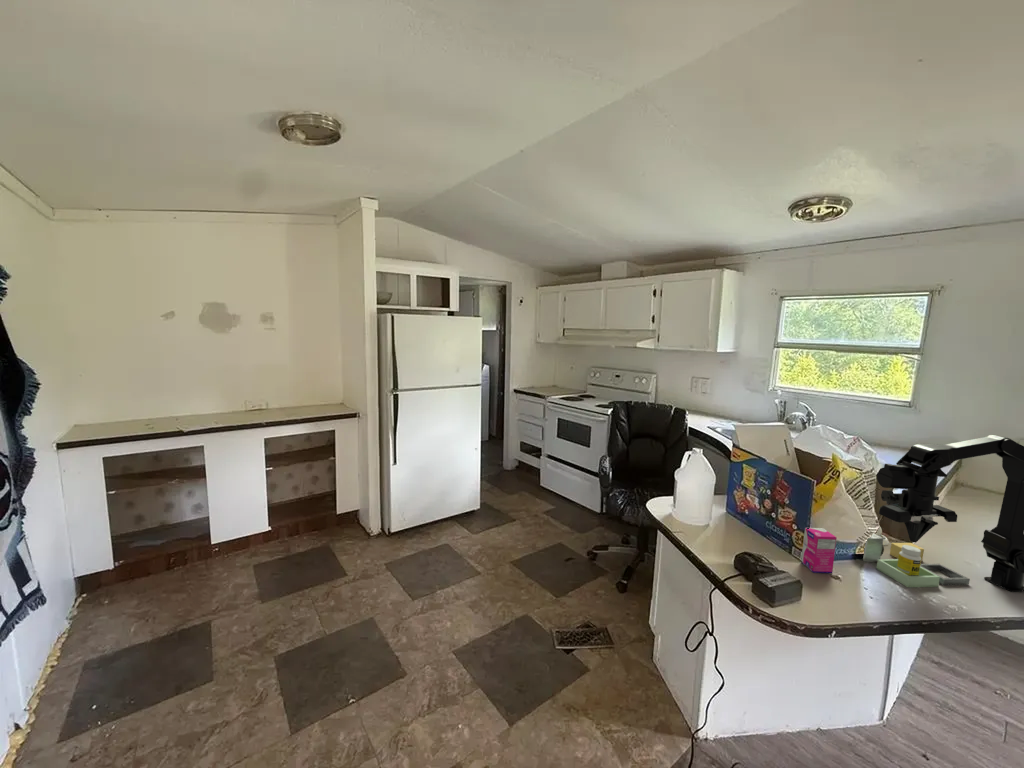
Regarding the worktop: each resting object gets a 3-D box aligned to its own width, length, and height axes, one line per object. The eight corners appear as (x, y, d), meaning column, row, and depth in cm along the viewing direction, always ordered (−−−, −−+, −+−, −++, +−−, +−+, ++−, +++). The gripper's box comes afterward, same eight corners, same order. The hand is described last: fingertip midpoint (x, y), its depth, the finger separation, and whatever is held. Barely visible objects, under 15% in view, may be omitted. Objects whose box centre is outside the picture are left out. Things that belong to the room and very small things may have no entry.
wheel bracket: (872, 553, 138) (876, 527, 136) (885, 561, 133) (890, 534, 132) (851, 553, 137) (855, 527, 136) (864, 561, 132) (868, 534, 131)
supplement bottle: (912, 581, 121) (917, 553, 120) (892, 572, 125) (896, 545, 124) (921, 578, 123) (926, 550, 122) (901, 569, 127) (905, 543, 126)
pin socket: (938, 569, 130) (939, 563, 129) (968, 584, 122) (969, 579, 121) (913, 569, 129) (914, 563, 129) (943, 585, 121) (944, 579, 121)
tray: (905, 568, 129) (906, 559, 129) (938, 586, 120) (940, 576, 120) (876, 568, 128) (877, 559, 128) (907, 587, 119) (909, 577, 119)
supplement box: (799, 562, 130) (804, 526, 129) (819, 563, 130) (824, 527, 129) (812, 573, 125) (817, 536, 123) (833, 574, 125) (838, 537, 123)
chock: (909, 554, 138) (911, 542, 138) (922, 561, 134) (924, 549, 134) (889, 554, 138) (891, 542, 137) (901, 561, 134) (903, 549, 133)
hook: (842, 515, 154) (862, 507, 153) (864, 547, 151) (885, 539, 149) (850, 519, 148) (871, 510, 146) (873, 552, 144) (895, 544, 142)
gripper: (921, 479, 130) (914, 528, 132) (865, 479, 128) (858, 529, 130) (963, 493, 119) (954, 546, 121) (902, 493, 117) (894, 547, 119)
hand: (913, 541), depth 123 cm, fingers closed
